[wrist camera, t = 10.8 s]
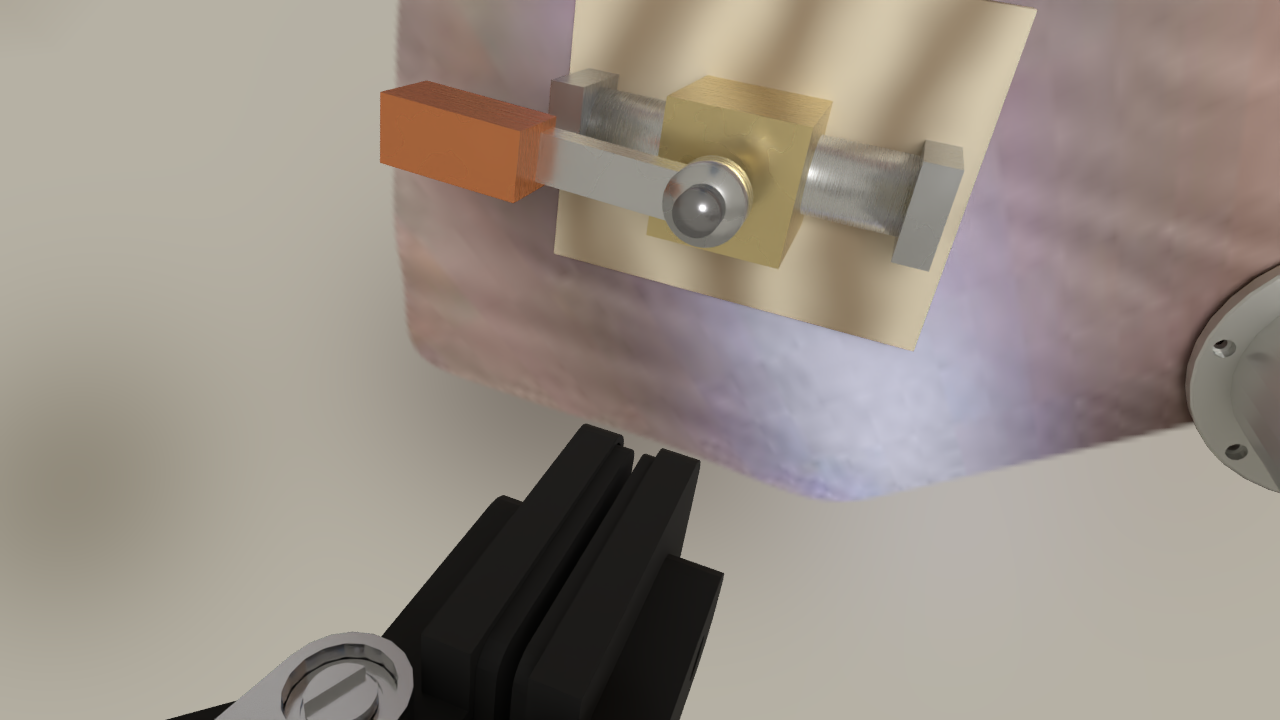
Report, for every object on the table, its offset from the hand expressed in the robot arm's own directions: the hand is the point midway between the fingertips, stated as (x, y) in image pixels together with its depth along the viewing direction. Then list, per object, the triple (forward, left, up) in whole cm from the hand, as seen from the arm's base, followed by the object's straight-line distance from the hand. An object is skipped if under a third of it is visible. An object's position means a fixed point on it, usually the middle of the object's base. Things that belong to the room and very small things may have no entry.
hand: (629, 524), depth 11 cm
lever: (+10, +2, -21) cm, 24 cm away
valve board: (+4, +2, -31) cm, 31 cm away
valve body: (+4, +2, -30) cm, 30 cm away
